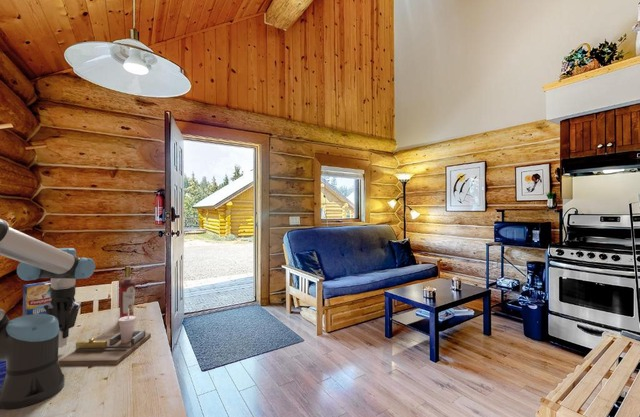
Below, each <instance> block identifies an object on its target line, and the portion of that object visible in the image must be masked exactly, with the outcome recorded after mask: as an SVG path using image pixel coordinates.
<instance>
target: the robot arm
mask: <svg viewBox="0 0 640 417" xmlns="http://www.w3.org/2000/svg"><path fill="white" fill-rule="evenodd" d="M0 256H2V257H4V258H8V259H10V260H14V261H17V262H19V263H18V265H17V267H16V275H17V276H18V278H20V279H21V280H23V281H27V282H28V281H35V280H37V279H50V281H51V288H52V289H51V294H50V297H51V298H52V300H51V301H50V303H49V304H47V305H45V306H44V309H45V310H46V312H47V314H35V315H32V314H31V315H25V316H23V315H21V316H17V317H15V318H13V319H10V318H9V317H8V314H7V313H6V312H5V310H4V309H3V308H0V362H6V363H5V366H6V367H5V377H4V378H3V382H2V383H1V386H0V409H2V410H12V409H18V408H25V407H27V406H30V405H35V404H37V403H39V402H43V401H44V400H47V399H49V398H50V397H53V396H54V395H56V394H58V392H60V391H61V390H62V389H63V388H64V386H65V383H66V382H65V380H66V379H65V378H66V377H65V375H64V373H63V372H62V369H61V367H60V366H61V365H59V363H58V361H59V349H60V348H63V347H65V346H66V345H67V344H68V340H67V339H68V337H69V336H70V335H69V334H70V329H71V328H74V327H75V326H76V325H75V324H76V320H77V317H78V313H79V311H80V308H81V307H82V306H83V305H82V303H78V302H76V298H75V296H76V286H75V285H76V282H77V281H76V280H80V279H89V278H90V277H91V276H92V275H93V274H94V272H95V270H96V263H95V261H94V259H92V258H91V257H90V258H89V257H79V256H77V250H76V249H75V248H73V247H62V248H61V247H58V248H57V247H55V246H53V245H51V244H48V243H46V242H44V241H42V240H39V239H37V238H35V237H33V236H31V235H28V234H26V233H25V232H22V231H19V230H17V229H14V228H13V227H10V224H9V223H8V221H6V220H4V219H2V218H0Z"/></svg>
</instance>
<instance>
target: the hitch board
mask: <svg viewBox="0 0 640 417" xmlns="http://www.w3.org/2000/svg"><path fill="white" fill-rule="evenodd" d="M116 334H117V333H102V334H100V335H99V336H97V337H94V338H95V340H94V341H107V348H106V349H76V348H75V349H74V351H72V352H71V353H69V354H67V355H66V356H64V357H62V358H60V359H58V363H59V366H71V365H72V366H74V365H75V366H76V365H77V366H79V365H80V366H85V365H86V366H87V365H88V366H89V365H91V366H92V365H95V366H96V365H118V364H119V363H120V362H122V361H123V360H125V358H127V357H128V356H129V355H130V354H131V353H133V352H134V351H135V350H137V348H139V347H141V345H142V344H144V343H145V342H146V341H148V339H150V338H151V337H152V336H151V335H152V333H151V332H148V333H146V332H145V336H144V337H143V338H142V339H141V340H139V341H138V342H137V343H136V344H134V345H131V341H130V342H127V343H122V341H121V339H120V340H119V341H117V342H116V343H114V344H113V345H109V342H110V338H112V337H113V336H115V335H116ZM132 338H133V337H132Z"/></svg>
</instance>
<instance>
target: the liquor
mask: <svg viewBox="0 0 640 417" xmlns="http://www.w3.org/2000/svg"><path fill="white" fill-rule="evenodd" d="M131 270H132V268H131V265H125V266H124V280H123V281H122V282H120V283H119V284H118V291H119V292H118V295H119V296H118V297H119V317H118V320H119V319H120V318H122V317H125V316H128V308H129V316H135V315H134V313H135V312H134V311H135V308H134V307H135V296H136V284H137V283H136V281H134V280H131V279H132V278H131V277H132V276H131Z"/></svg>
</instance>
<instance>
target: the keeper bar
mask: <svg viewBox="0 0 640 417" xmlns="http://www.w3.org/2000/svg"><path fill="white" fill-rule="evenodd" d="M95 338H96V337H92V338H91V337H90V338H89V339H88V340H77V341H76V342H75V350H76V349H106V348H107V341H94V340H95Z"/></svg>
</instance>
